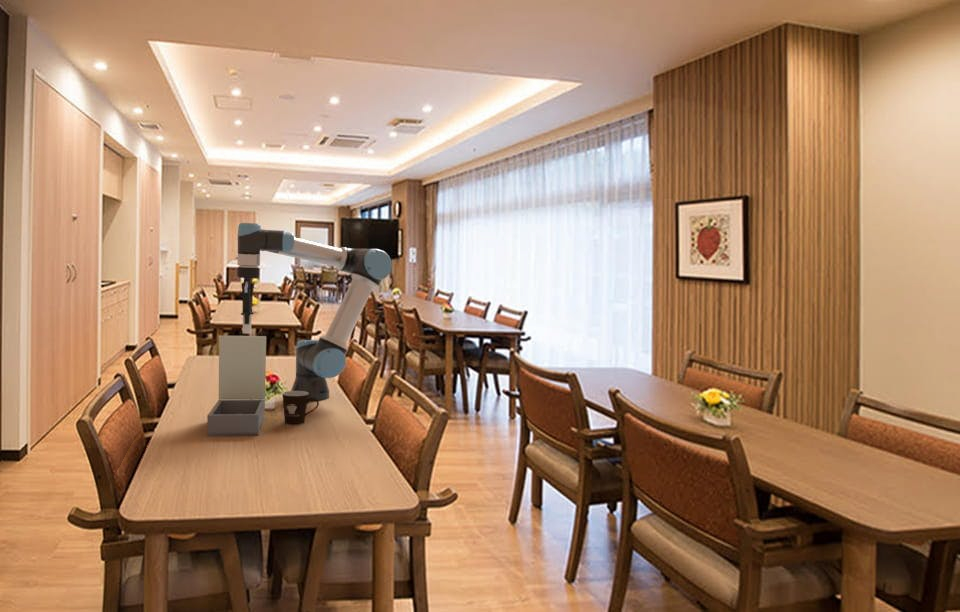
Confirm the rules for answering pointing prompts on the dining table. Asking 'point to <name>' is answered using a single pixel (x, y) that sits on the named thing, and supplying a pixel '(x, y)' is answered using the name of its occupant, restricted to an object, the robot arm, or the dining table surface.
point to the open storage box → (236, 418)
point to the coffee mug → (296, 406)
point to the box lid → (242, 367)
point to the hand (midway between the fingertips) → (246, 333)
